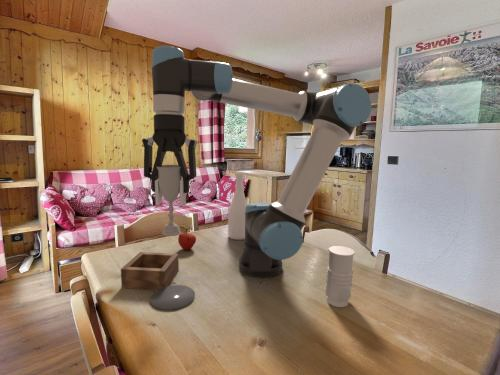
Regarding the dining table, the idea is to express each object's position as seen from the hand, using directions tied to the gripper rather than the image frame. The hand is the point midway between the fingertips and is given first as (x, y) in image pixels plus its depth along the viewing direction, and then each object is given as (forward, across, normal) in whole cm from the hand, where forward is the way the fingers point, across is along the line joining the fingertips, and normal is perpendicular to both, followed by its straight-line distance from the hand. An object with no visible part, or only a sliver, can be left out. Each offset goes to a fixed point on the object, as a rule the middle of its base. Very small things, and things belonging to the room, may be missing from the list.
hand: (171, 204), depth 75 cm
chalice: (+8, 0, 0) cm, 8 cm away
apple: (+27, +6, -35) cm, 45 cm away
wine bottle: (+27, -13, -53) cm, 61 cm away
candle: (+27, -46, -3) cm, 53 cm away
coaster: (+27, 0, 0) cm, 27 cm away
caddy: (+27, +10, -10) cm, 30 cm away
